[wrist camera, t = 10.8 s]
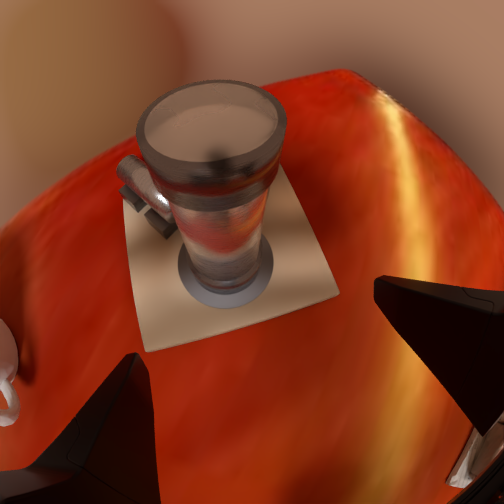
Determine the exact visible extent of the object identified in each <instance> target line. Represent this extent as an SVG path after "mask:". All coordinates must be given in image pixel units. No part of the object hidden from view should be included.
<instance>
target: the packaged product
mask: <svg viewBox="0 0 504 504" xmlns="http://www.w3.org/2000/svg"><path fill="white" fill-rule="evenodd" d="M503 445H504V414H503V415H502V416H501V418H500V419H499V420H498V421H497V422H496V424H495V425H494V426H493V427H492V428H491V429H490V430H489V431H488V432H487V434H486V435H485V436H484V437H482V436H481V435H480V434H479V432H478V431H477V430H476V428H475V427H474V429H473V432H472V434H471V436H470V438H469V440H468V442H467V444H466V446H465V448H464V450H463V452H462V454H461V456H460V458H459V460H458V462H457V464H456V465H455V467H454V468H453V470H452V472H451V474H450V476H449V477H448V479H447V481H446V484H448V485H449V486H455V487H460V488H465V487H466V486H467V485H468V484H469V483H471V482H472V481H473V480H474V479H475V478H476V477H477V476H478V475H479V474H480V473H481V472H482V471H483V470H484V469H485V468H486V467H487V465H488V464H489V463H490V462H491V461H492V460H493V459H494V458H495V457H496V456H497V454H498V453H499V452H500V451H501V450H502V449H503Z"/></svg>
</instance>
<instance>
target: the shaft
mask: <svg viewBox="0 0 504 504" xmlns="http://www.w3.org/2000/svg"><path fill="white" fill-rule="evenodd" d="M116 173H117V176H118V177H119V178H120V179H121V180H122V181H123V182H124V183H125V185H124V186H123V187H122V188H121V189H119V192H120V194H121V196H122V197H123V199H124V200H125V201H126V202H127V203H128V204H129V205H130V206H131V207H132V208H133V209H134V210H135V211H136V212H137V213H139V212H140V211H141V210H142V209H143V208H144V207H145V206H146V205H147V204H148V205H149V206H150V207H151V208H150V209H149V210H148V211H147V212H146V213H145V214H144V216H145V218H146V220H147V221H148V223H149V224H150V225H151V226H152V227H153V228H154V229H155V230H156V231H157V232H158V233H159V234H161V235H162V236H163V237H164V238H165V239H166V240H167V239H168V238H169V237H170V236H171V235H172V234H173V233H174V232H175V231H176V230H177V229H178V226H177V224H176V221H175V218H174V216H173V213H172V211H171V208H170V205H169V203H168V200H167V199H165V198H164V197H163V196H162V195H161V194H160V193H159V192H158V190H157V189H156V188H155V186H154V184H153V181H152V179H151V176H150V174H149V171H148V169H147V166H146V163H145V162H143V161H142V160H141V159H139V158H138V157H137V156H135V155H128V156H126V157H125V158H123V159H122V160H121V161H120V163H119V164H118V167H117V171H116Z"/></svg>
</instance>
